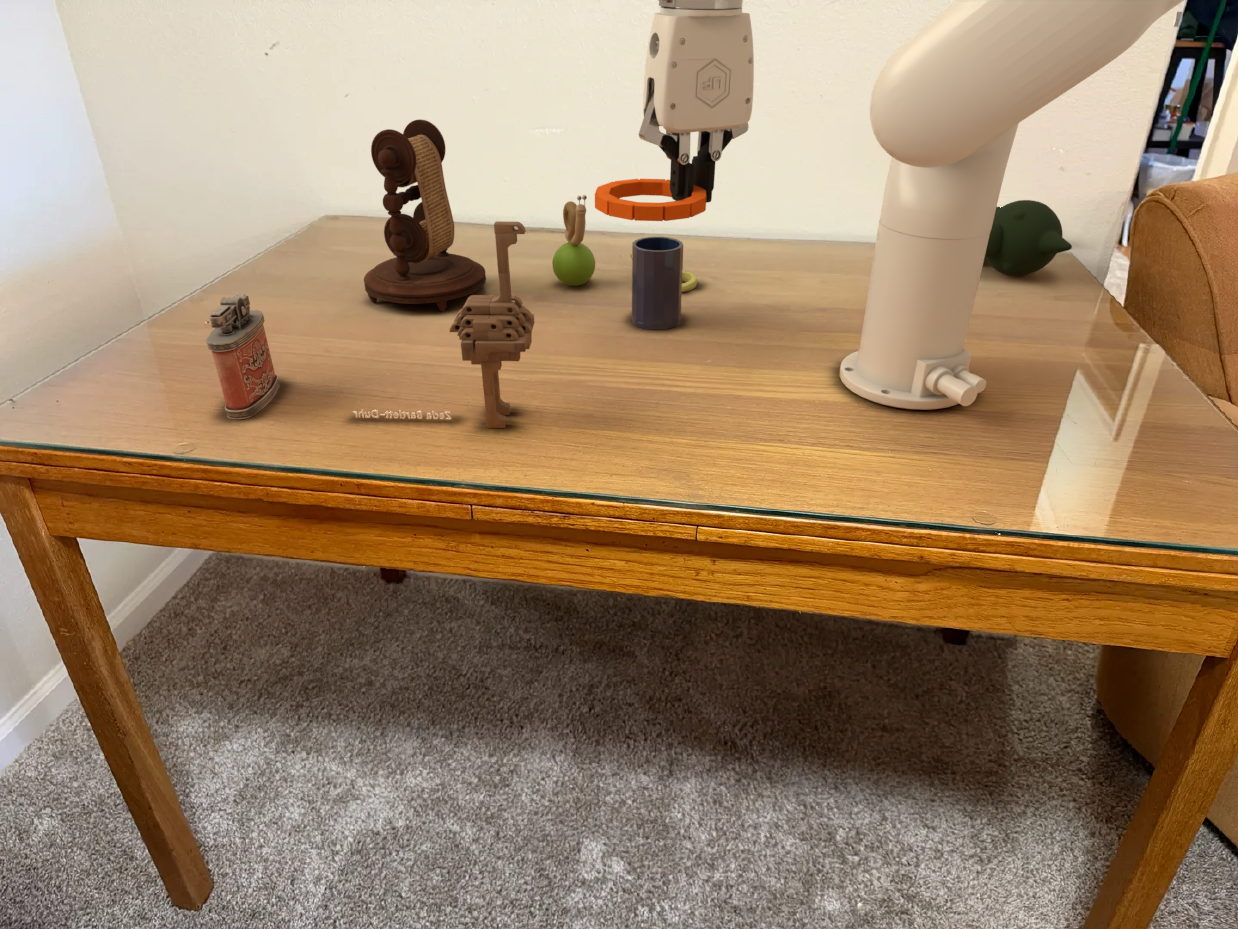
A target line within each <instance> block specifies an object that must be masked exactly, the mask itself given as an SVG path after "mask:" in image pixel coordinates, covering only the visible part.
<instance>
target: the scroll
mask: <svg viewBox="0 0 1238 929" xmlns="http://www.w3.org/2000/svg"><path fill="white" fill-rule="evenodd" d="M370 152H371V159H372V162H373V164H374V167H375V168H376V170H377V171H378V173H379V174H380V175H381V176H382V177H384V179H383V180H384V181H383V188H384V191H385V192H386V193H385V194H384V195H383V197H382V206H383V208H384V210H386V211H387V215H389V216H390V217H388V219H387V221H386V222H385V224H384V228H383V236H384V241H385V243H386V245H387V248H388V250H390V252H391V254H393V256H394V257H393V258H389V259H387V260H385V261H382V262H380V263H379V264H377V265H375V266H374V267H373V268H371V269H369V271H367V273H365V275H364V278H363V284H364V290H365V292H366V293H367V296H368V299H369V300H370V301H371V303H372V304H373V303H377V302H378V300H379V301H380V300H381V301H383V302H388V303H396V304H408V305H409V304H410V305H411V304H412V305H417V304H433V303H436V306H437V308H438V310H439V311H440V312H445V310H446V308H447V302H448V301H451V300H456V299H460V298H462V297H466V296H468V295H469V296H470V295H472V294H473V293H475V292H477V291H478V290H480V289H481V288H482V287H483V286H484V285H486V282H487V276H486V268H485V267H484V266H483V265H482V264H480V262H477V261H475V260H473V259H471V258H469V257H467V256H463V255H461V254H455V253H449V252H448V250H449V248H451V247H452V245H453V244H454V240H455V221H454V218H453V213H452V209H451V205H450V204H451V203H450V200H449V196H448V192H447V187H446V182H445V175H444V170H443V169H444V168H443V161H444V159H445V157H446V141H445V138H444V136H443V134H442V133H441V131H440V129H439V128H438V127H437V126H436V125H435V124H434V123H432V122H431V121H428V120H426V119H414V120H412V121H410V122H409V123H408V124H406V126H405V128H404V129H403V132H400V131H398V130H396V129H389V128H387V129H383V130H381V131H379V132H378V133H377V134H376V135H375V136H374V137H373V139H372V142H371V147H370ZM416 183H417V184H416ZM413 184H415V185H413ZM409 186H410V187H409ZM406 187H408V188H407V189H405V191H399V192H397V191H398V189H399V188H406ZM418 200H421V201H420V202H419V203H418V204H417V205H416V206H415V209H414V211H413V215H412V216H411V215H409V214H406V213H402V209H403V207H404V206H405V205H407V204H408V203H409V202H413V201H418Z"/></svg>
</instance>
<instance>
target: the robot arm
mask: <svg viewBox="0 0 1238 929" xmlns="http://www.w3.org/2000/svg"><path fill="white" fill-rule="evenodd" d="M657 1H658V6H659V7H660V8H659V12H654V15H653V19H652V22H651V27H650V32H649V38H648V42H647V48H646V58H645V66H644V78H643V94H642V96H643V97H642V110H643V111H642V112H643V119H642V123H641V125H640V128H639V131H638V137H639V139H640V140H643V141H645V142H647V143H650V144H653V145H656V146H657V147H659V148H660V150H661V151H662V152H663V153H664V154H665V156H666V158H667V159H668V160H670V171H669V172H670V176H669V180H670V192H671V194H672V197H671V199H672V200H673V201H680V200H683V199H686V198H688V197H691V196H692V191H693V185H696V186H698V187H701V188H703V189H705V190H706V204H708V203H711V202H712V197H713V191H714V188H715V174H716V162H718V161H720V160H721V158H722V154H723V153H722V152H724V151H725V149H726V147H727V146H728V145H729V144H730V142H732V140H734V139H735V140H736V139H737V138H738V137H740V136H743V135H744V134H746V133H747V132H748V130H749V128H750V126H749V122H750V120H751V118H752V113H753V102H754V83H755V82H754V78H755V76H754V75H755V74H754V73H755V72H754V68H755V64H754V63H755V62H754V58H755V57H754V56H755V55H754V39H753V29H752V23H751V22H752V21H751V15H750V13H749V12H743V3H744V0H657ZM1183 1H1184V0H956V1H955V2H953V4H951V5H950V6H949V7H948V8H947V9H945V10H944V11H942V12H941V13H940V14H939V15H937V16H936V17H935V18H934V19H933V20H931V21H930V22H929V23H928V24H927V25H924V27H922V28H921V29H920V30H919V31H918V32H916V33H915V34H914V35H913V36H912V37H910V38H909V39H908V40H906V41H905V42H904V43H903V44H902V45H900V46H899V48H897V49H896V51H894V52H893V54H892V55H891V56H890V57H889V58H888V59H887V60H886V62H885V63H884V65H883V66H882V67H881V70H880V71H879V73H878V75H877V77H876V80H875V82H874V85H873V88H872V91H871V96H870V101H869V119H870V125H871V128H872V132H873V135H874V136H875V139H876V141H877V142H878V144H879V145H880V147H881V149H883V151H885V153H887V154H888V155H889V156H890V157H891V158H890V163H889V168H888V171H887V176H886V182H885V185H884V190H883V197H882V204H881V209H880V216H879V220H878V227H877V233H876V238H875V247H874V252H873V259H872V264H871V272H870V278H869V283H868V284H869V285H868V290H867V297H866V305H865V309H864V315H863V322H862V329H861V334H860V341H859V348H858V350H857V351H856V350H855V351H854V352H853V351H852V352H851V353H850V354H848V355H846V356H845V357H844V358H843V359H842V361H841V363H840V366H839V378H840V381H841V383H842V384H843V385H844V386H845V387H846V388H847V389H848V390H849V391H851V392H852V393H853V394H856V395H857V396H859V397H861V398H863V399H865V400H868V401H870V402H872V403H873V402H874V403H877V404H880V405H884V406H888V407H893V408H897V409H905V410H917V411H918V410H920V411H922V410H923V411H924V410H926V411H928V410H939V409H940V410H941V409H945V408H946V409H947V408H950V407H954V406H956V405H961V406H962V407H969V406H970V405H972V404H973V402H975V401H976V399H977V397H978V394H980V393H982V392H983V391H984V390H985V388H986V387H987V380H986V379H985V378H983V377H981V376H979V375H977V374H975V373H971V372H970V366H971V360H972V355H973V353H972V352H971V351H968V350H967V349H965V346H966V342H967V337H968V333H969V328H970V324H971V320H972V315H973V311H974V306H975V301H976V297H977V293H978V288H979V283H980V279H981V275H982V270H983V266H984V261H985V259H984V258H985V253H986V249H987V244H988V240H989V235H990V231H991V229H992V224H993V220H994V216H995V211H996V207H998V202H999V198H1000V193H1001V189H1002V185H1003V181H1004V177H1005V173H1006V169H1007V166H1008V162H1009V158H1010V154H1011V152H1012V149H1013V145H1014V141H1015V138H1016V134H1017V131H1018V128H1019V124H1020V123H1021V122H1023V121H1024V120H1026V119H1027V118H1029V117H1030V116H1032V115H1034V114H1035V113H1036V112H1039V110H1041V109H1043V108H1044V107H1045V106H1047V105H1048V104H1050V103H1052V102H1053V101H1055V100H1057V99H1058V98H1059V97H1060V96H1063V94H1065V93H1067V92H1068V91H1070V90H1071V89H1073V88H1074V87H1076V86H1078V84H1080V83H1082V82H1083V81H1085V80H1086V79H1088V78H1089V77H1091V76H1092V75H1094V74H1095V73H1097V72H1098V71H1100V70H1101V69H1102V68H1104V67H1105V66H1107V65H1108V64H1110V63H1111V62H1113V61H1114V60H1116V59H1117V58H1118V57H1120V56H1121V55H1122V54H1124V53H1125V52H1126V51H1127V50H1129V48H1131V47H1132V46H1133V45H1134V44H1135V43H1136V42H1137V41H1138V40H1139V39H1141V37H1142V36H1143V35H1144V34H1145V33H1146V32H1147V31H1148V29H1149V28H1150V27H1151V26H1152V25H1153V24H1154V23H1155V22H1156V21H1158V20H1159V19H1160V18H1162V17H1163V16H1164V15H1165V14H1167V13H1168V12H1169V11H1171V10H1172V9H1173V8H1175V7H1176V6H1178V5H1180V4H1181V3H1182V2H1183ZM660 127H662V128H663V130H665V133H664V132H662V131H661V130H660ZM691 133H698V136H697V148H696V154H697V155H694V156H692V158H691ZM690 159H691V160H690Z"/></svg>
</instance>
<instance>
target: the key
mask: <svg viewBox="0 0 1238 929" xmlns="http://www.w3.org/2000/svg"><path fill="white" fill-rule="evenodd" d="M629 257H630V258H632V253H630V254H629ZM697 283H698V278H697V276H696V275H695V274H694V273H693V272H690V271H686V270H682V293H684V292H689V291H692V290H694V289H695V288H696V287H697Z"/></svg>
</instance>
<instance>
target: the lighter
mask: <svg viewBox="0 0 1238 929" xmlns="http://www.w3.org/2000/svg"><path fill="white" fill-rule="evenodd" d="M219 304H220V305H219V306H217V307H216V308H215V309H214V310H213V311H212V312H211V313H210V314H209V316H208V318H209V321H210V322H209V323H210V325H211V328H212V329H213V330H212V331H211V332H210V334H208V337H207V338H206V340H205V341H206V342H205V343H206V346H207V349H208V350H209V351H210V352H211V355H212V358H213V361H214V365H215V369H216V373H217V376H218V380H219V383H220V388H221V391H222V394H223V399H224V402H225V405H224V411H225V414H226V417H227V418H228V419H231V420H244V419H248V418H251V417H253V416H255V415H256V414H258V413H259V412H261V411H262V410H263V409H264V408H265V407H266V406H267V405H268V404H269V403H270V402H271V401H272V400H273V398H274V397H275V396H276V394H277V393H278V390H279V388H280V386H281V385H280V380H279V376H278V375H277V374H276V372H275V368H274V364H273V359H272V355H271V352H270V347H269V342H268V339H267V335H266V329H265V326H264V324H265V316H264V313H263V312H262V311H261V310H256V309H255V310H253V309H252V310H250V309H251V306H250V305H251V301H250V298H249V294H248V293H245V292H244V293H243V292H241V293H235V294H234V295H233V296H232V297H227V296H226V297H225V296H224V297H222V298H221V299H220V303H219Z"/></svg>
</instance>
